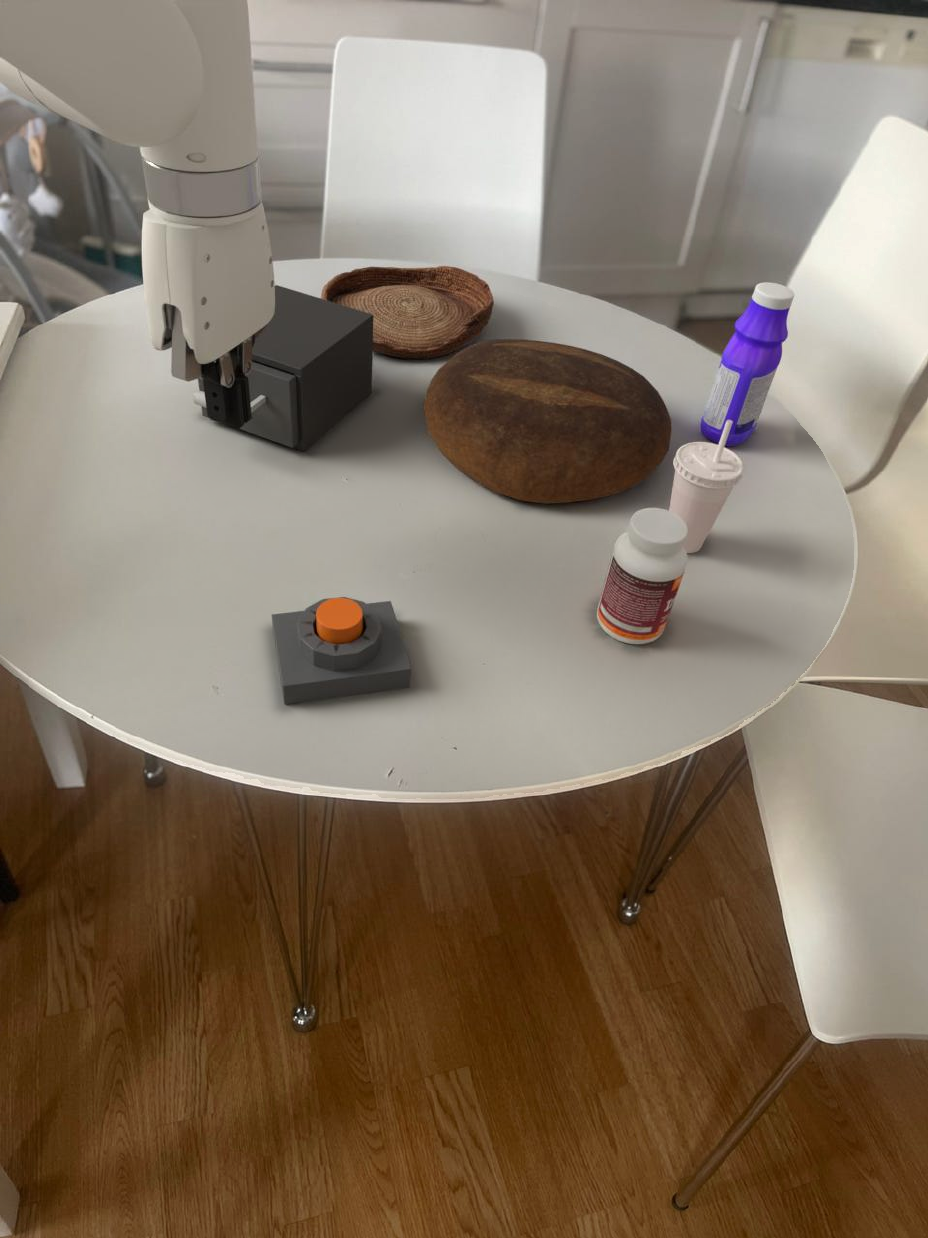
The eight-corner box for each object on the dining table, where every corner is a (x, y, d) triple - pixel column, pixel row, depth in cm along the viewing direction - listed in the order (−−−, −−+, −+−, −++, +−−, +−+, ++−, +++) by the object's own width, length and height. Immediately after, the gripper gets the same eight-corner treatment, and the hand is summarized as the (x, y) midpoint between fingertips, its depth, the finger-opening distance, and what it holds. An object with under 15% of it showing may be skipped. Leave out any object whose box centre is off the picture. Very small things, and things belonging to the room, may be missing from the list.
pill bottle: (668, 650, 77) (703, 553, 69) (597, 643, 77) (625, 545, 69) (659, 602, 82) (691, 505, 74) (593, 595, 81) (618, 498, 74)
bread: (653, 537, 88) (676, 464, 82) (391, 480, 91) (394, 406, 85) (671, 399, 109) (690, 332, 103) (457, 356, 112) (463, 288, 106)
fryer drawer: (269, 467, 90) (264, 399, 84) (177, 433, 92) (166, 365, 87) (357, 392, 102) (358, 328, 96) (273, 364, 104) (269, 300, 99)
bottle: (718, 413, 107) (765, 271, 95) (760, 432, 105) (814, 289, 93) (689, 435, 103) (734, 289, 91) (732, 455, 101) (784, 309, 89)
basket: (347, 372, 106) (347, 333, 103) (300, 299, 119) (298, 263, 116) (514, 351, 114) (519, 314, 111) (453, 285, 127) (456, 250, 123)
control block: (284, 705, 69) (281, 670, 66) (273, 633, 74) (270, 598, 72) (409, 687, 71) (412, 653, 69) (390, 619, 77) (391, 584, 74)
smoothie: (697, 571, 85) (741, 447, 76) (639, 542, 88) (675, 418, 78) (725, 540, 89) (771, 419, 79) (669, 513, 92) (707, 392, 82)
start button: (320, 647, 69) (319, 631, 67) (313, 616, 71) (313, 600, 70) (366, 642, 70) (366, 626, 68) (358, 610, 72) (358, 595, 71)
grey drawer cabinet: (304, 451, 94) (300, 369, 87) (205, 416, 97) (195, 334, 90) (372, 392, 104) (373, 314, 97) (280, 362, 107) (276, 284, 100)
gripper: (222, 143, 66) (243, 368, 78) (81, 202, 55) (132, 450, 68) (310, 165, 64) (317, 392, 77) (180, 231, 54) (214, 480, 66)
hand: (230, 419), depth 72 cm, fingers closed
